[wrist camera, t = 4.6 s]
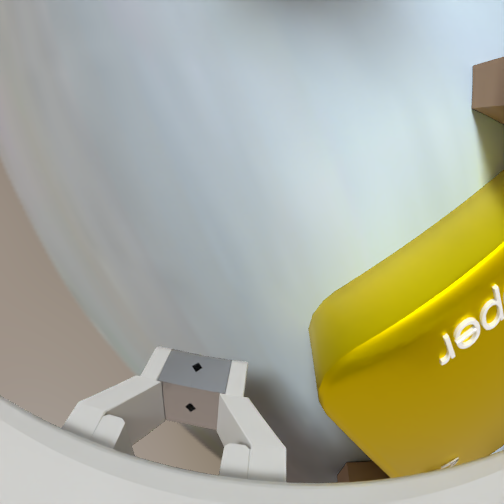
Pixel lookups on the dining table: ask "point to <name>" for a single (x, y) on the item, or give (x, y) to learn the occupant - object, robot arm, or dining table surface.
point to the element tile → (421, 345)
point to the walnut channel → (500, 109)
